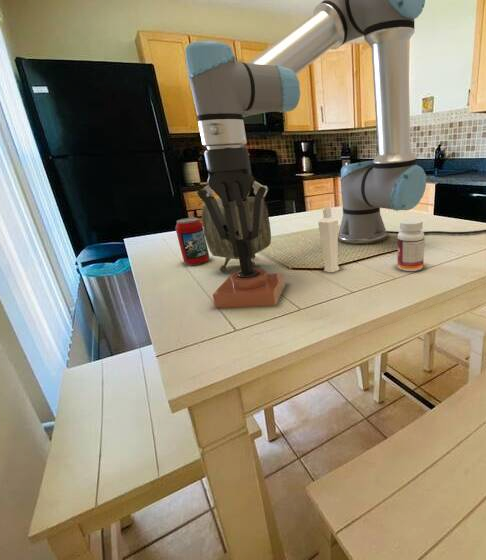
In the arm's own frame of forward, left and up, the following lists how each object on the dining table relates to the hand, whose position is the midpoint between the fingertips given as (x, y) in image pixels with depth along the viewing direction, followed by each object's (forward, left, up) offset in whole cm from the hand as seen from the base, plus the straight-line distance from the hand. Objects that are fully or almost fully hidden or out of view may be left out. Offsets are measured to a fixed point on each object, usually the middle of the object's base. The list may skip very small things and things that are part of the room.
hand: (247, 271), depth 68 cm
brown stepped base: (0, 0, -6) cm, 6 cm away
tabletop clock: (+7, -19, -6) cm, 21 cm away
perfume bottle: (-16, -14, -6) cm, 22 cm away
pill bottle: (-35, -13, -6) cm, 38 cm away
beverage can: (+23, -25, -6) cm, 34 cm away
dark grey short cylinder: (0, 0, -2) cm, 2 cm away
